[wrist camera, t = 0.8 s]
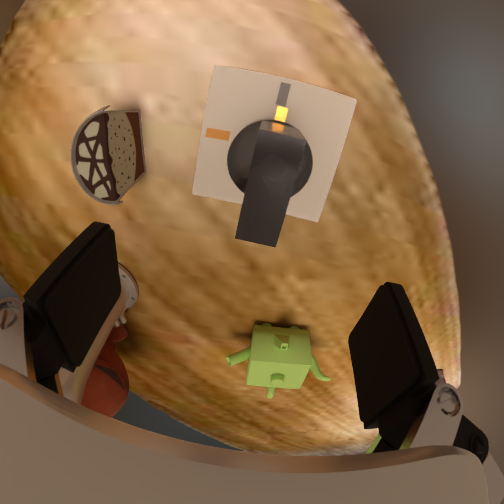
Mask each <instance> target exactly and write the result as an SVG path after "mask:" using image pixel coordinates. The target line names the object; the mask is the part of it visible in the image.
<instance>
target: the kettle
mask: <svg viewBox="0 0 504 504" xmlns="http://www.w3.org/2000/svg"><path fill="white" fill-rule="evenodd" d="M246 359H248V369H247V379H246V384H247V385H255V386H265V387H267V398H268V399H271V398H272V397H273V395H274V391H275V387H277V388H293V389H300V387H301V385H302V383H303V381H304V379H305V377H306V375H307V373H308V371H309V369H310V370H311V371H312V372H313V374H314V376H315V377H316V378H317V379H319V380H322V381H330V380H331V378H329V377H327V376H325V375H324V374H322V372H321V371H320V369H319V366H318V363H317V361H316V359H315V357H314V356H313V354H311V346H310V335H309V330H303V329H299V327H298V326H291V327H289V328H281V327H272V325H271V324H269V323H263V324H262V325H254V327H253V333H252V339H251V345H250V347H249V348H246V349H244V350H241V351H239V352H236V353H234V354H231V355H229V356H226V361H227V363H228V364H229V366H233V365H235V364H237V363H240V362H242V361H244V360H246Z"/></svg>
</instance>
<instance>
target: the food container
mask: <svg viewBox="0 0 504 504" xmlns="http://www.w3.org/2000/svg"><path fill="white" fill-rule="evenodd" d="M108 107H110V105H109V106H106V107H103V108H101V109H100V110H98V111H96V112H94V113H93V114H91V115H90V116H89V117H87V118H86V119H85V120H84V122H83V123H82V124H81V125H80V126H79V128H78V130H77V131H76V133H75V136H74V138H73V141H72V145H71V165H72V170H73V173H74V176H75V178H76V180H77V182H78V184H79V185H80V187H81V188H82V189H83V190H84V191H85V193H86V194H87V195H89V196H90V197H91V198H93V199H94V200H96V201H98V202H100V203H103V204H108V205H118V204H120V203H122V202H123V201H119V200H120V199H121V198H122V197H123V196H124V194H125V193H126V192H127V191H128V190H129V189H130V188H131V187H132V186H133V185H134V184H135V183H136V182H137V181H138V180H139V179H140V178H141V177H142V176H143V175H144V174H145V173H146V166H145V158H144V149H143V139H142V128H141V115H140V111H104V110H105V109H107V108H108Z"/></svg>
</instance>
